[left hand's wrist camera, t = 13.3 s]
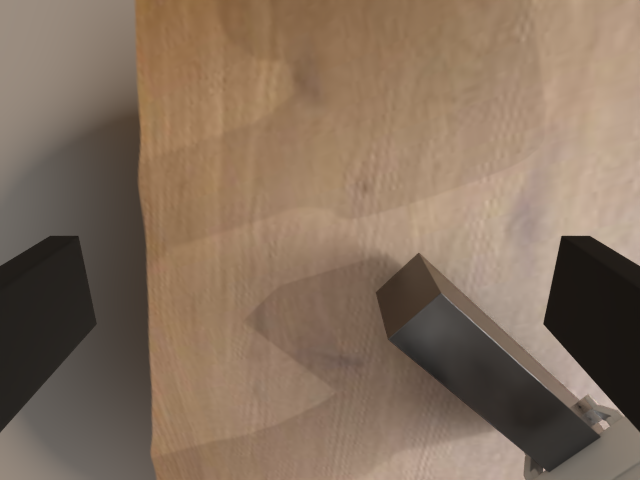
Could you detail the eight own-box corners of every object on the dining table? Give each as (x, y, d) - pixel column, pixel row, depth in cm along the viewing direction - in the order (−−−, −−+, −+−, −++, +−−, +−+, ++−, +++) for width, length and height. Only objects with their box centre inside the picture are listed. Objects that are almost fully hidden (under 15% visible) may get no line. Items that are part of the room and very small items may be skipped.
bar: (375, 292, 42) (387, 339, 35) (418, 252, 41) (441, 292, 33) (540, 433, 48) (580, 499, 41) (582, 403, 47) (632, 465, 40)
